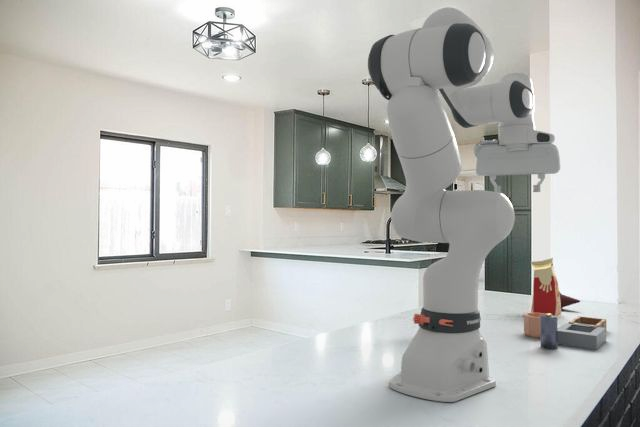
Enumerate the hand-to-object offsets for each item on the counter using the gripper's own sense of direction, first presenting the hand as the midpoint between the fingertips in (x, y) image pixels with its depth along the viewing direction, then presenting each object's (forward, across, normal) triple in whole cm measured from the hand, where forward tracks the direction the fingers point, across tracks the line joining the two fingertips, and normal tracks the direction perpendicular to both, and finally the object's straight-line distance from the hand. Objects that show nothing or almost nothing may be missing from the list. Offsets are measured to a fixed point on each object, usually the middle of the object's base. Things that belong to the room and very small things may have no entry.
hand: (517, 192), depth 127 cm
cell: (+40, +8, +2) cm, 41 cm away
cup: (+40, +8, +17) cm, 44 cm away
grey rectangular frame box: (+40, +17, +10) cm, 45 cm away
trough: (+40, +22, +23) cm, 51 cm away
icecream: (+41, +21, +62) cm, 77 cm away
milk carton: (+41, +14, +48) cm, 64 cm away
